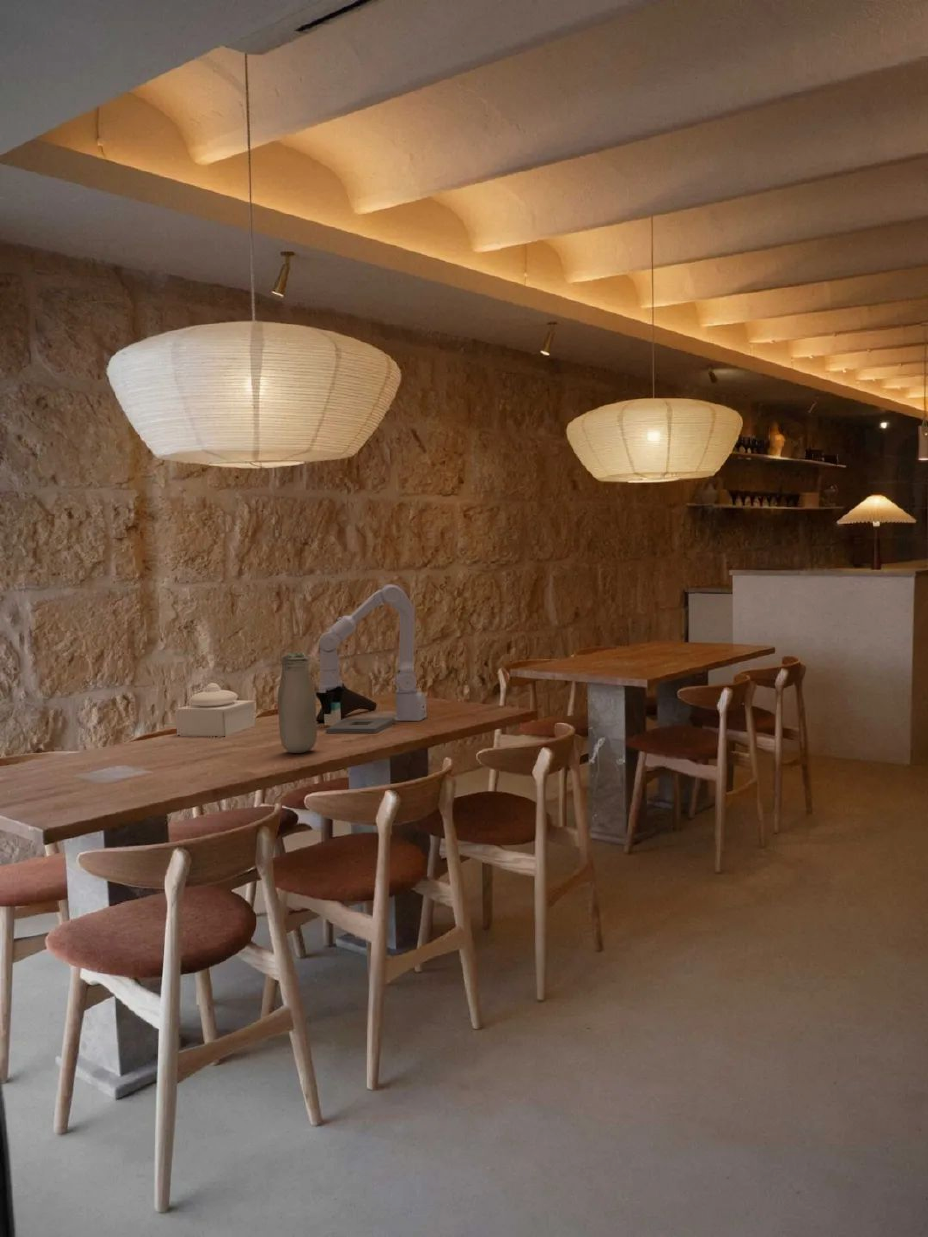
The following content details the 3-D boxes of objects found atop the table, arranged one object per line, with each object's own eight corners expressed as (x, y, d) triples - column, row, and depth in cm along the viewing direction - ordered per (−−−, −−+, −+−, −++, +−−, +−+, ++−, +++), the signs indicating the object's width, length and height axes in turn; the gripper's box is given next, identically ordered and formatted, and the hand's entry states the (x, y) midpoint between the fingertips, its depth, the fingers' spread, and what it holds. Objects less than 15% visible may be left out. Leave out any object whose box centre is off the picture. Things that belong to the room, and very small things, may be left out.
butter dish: (209, 726, 328) (206, 678, 327) (256, 727, 322) (253, 678, 321) (177, 736, 312) (173, 686, 311) (226, 737, 306) (222, 686, 305)
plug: (341, 723, 321) (339, 702, 320) (336, 725, 317) (335, 704, 316) (329, 723, 322) (328, 702, 321) (324, 726, 318) (323, 704, 317)
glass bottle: (297, 757, 269) (291, 654, 267) (274, 753, 276) (268, 653, 274) (325, 751, 276) (319, 650, 274) (302, 747, 283) (296, 649, 281)
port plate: (394, 722, 317) (394, 718, 317) (375, 733, 300) (375, 728, 299) (348, 723, 321) (347, 718, 321) (326, 733, 304) (325, 728, 304)
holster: (356, 746, 342) (311, 719, 324) (370, 702, 348) (326, 673, 330) (368, 747, 339) (322, 720, 321) (382, 703, 345) (338, 673, 327)
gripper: (327, 667, 326) (329, 708, 327) (308, 673, 312) (311, 715, 313) (347, 667, 324) (349, 708, 325) (329, 672, 310) (332, 715, 311)
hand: (331, 712), depth 319 cm, fingers open, 7 cm apart
